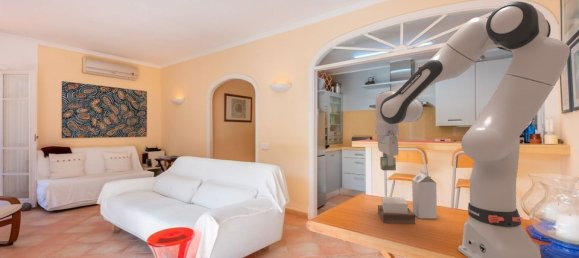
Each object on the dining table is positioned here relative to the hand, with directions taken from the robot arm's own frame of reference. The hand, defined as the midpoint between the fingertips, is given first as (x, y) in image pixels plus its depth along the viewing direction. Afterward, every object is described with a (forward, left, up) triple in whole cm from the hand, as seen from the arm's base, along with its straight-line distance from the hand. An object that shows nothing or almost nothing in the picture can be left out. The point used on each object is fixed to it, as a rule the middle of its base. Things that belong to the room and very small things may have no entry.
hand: (388, 164), depth 108 cm
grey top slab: (+1, -2, -19) cm, 20 cm away
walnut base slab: (+1, -3, -23) cm, 24 cm away
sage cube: (0, 0, -2) cm, 2 cm away
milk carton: (+5, -15, -23) cm, 28 cm away
